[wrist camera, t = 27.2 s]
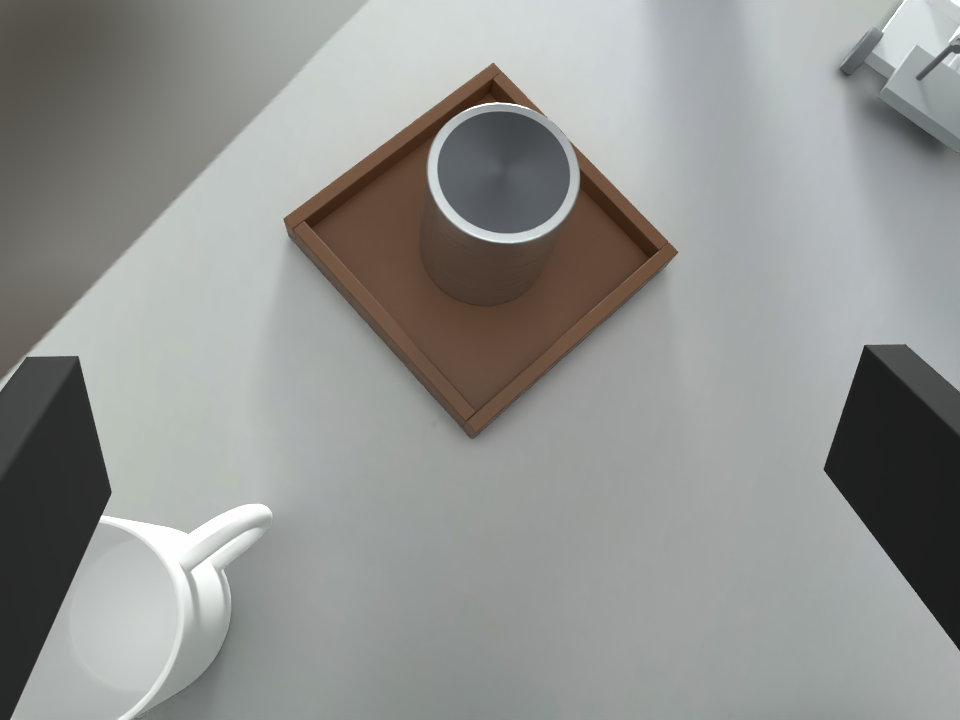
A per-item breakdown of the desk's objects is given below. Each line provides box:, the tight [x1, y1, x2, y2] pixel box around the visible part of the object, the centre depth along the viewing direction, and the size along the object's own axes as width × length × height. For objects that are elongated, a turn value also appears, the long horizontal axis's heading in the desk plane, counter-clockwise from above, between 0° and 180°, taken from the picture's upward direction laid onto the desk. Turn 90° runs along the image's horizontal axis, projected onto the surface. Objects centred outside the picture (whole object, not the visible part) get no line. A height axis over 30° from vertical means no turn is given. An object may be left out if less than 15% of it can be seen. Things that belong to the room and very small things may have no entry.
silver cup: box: [420, 103, 580, 306], centre depth 41 cm, size 7×7×9 cm
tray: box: [284, 63, 678, 439], centre depth 45 cm, size 16×16×2 cm
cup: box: [10, 504, 273, 720], centre depth 35 cm, size 8×12×10 cm
